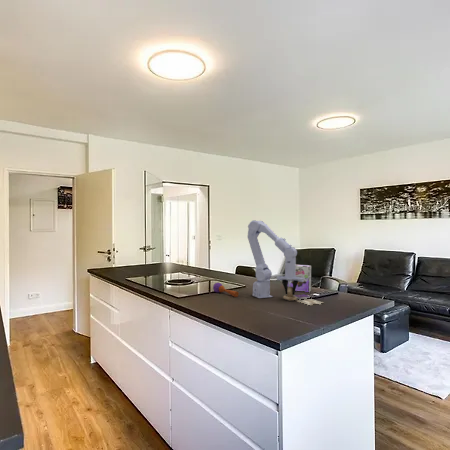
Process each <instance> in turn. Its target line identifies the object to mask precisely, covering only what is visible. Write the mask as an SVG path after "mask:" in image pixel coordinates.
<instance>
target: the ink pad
mask: <svg viewBox="0 0 450 450" xmlns="http://www.w3.org/2000/svg"><path fill="white" fill-rule="evenodd" d="M293 296H295V297H297V298H296V300H298V299H299V300H301V299H304V300H305V299H307V298H310V297H311V298H312V296H310V295H308V294H294V295H293Z"/></svg>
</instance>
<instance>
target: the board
mask: <svg viewBox="0 0 450 450" xmlns="http://www.w3.org/2000/svg"><path fill="white" fill-rule="evenodd" d="M296 302H297V303H300V302H301V303H300V304H302V303H304V304H303V305H305V304H307V305H306V306H308V305H310V306H314V305H313V304H319V305H322V304H321V303H324V302H323V301H320V300H316V299H312V298H311V299H304V300H298V299H296Z"/></svg>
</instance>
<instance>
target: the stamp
mask: <svg viewBox="0 0 450 450" xmlns="http://www.w3.org/2000/svg"><path fill="white" fill-rule="evenodd" d="M296 298H297V297H295V296H294V295H293V287H288V286H287V294H286V295H283V300H284V301H288V302H293V301H294V300H295V301H297V299H296Z"/></svg>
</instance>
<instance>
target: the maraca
mask: <svg viewBox="0 0 450 450" xmlns="http://www.w3.org/2000/svg"><path fill="white" fill-rule="evenodd" d="M212 290H213V292H215V293H223V292H226V293H228V294H229V295H230V296H232V297H234V298H238V297H239V294H240V293H239V292H238V291H237V290H231V289H227V288H225V286H224V285H223V283H221V282H215V283H214V284H213V287H212Z"/></svg>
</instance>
